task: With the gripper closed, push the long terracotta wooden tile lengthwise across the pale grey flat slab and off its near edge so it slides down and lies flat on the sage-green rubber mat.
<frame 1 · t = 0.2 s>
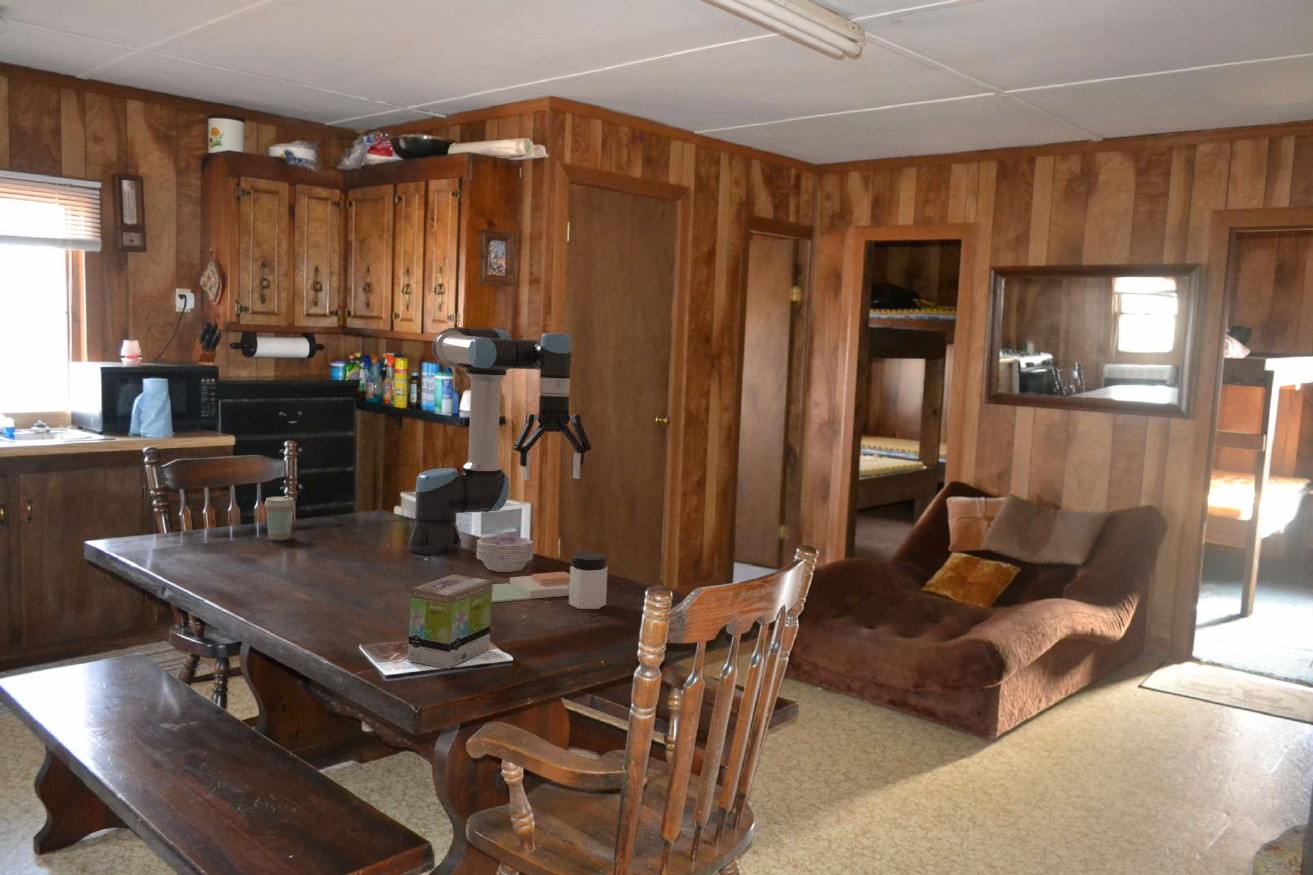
hand: (551, 478, 261), 28 cm above the table, fingers open, 13 cm apart
jar: (587, 605, 248), on the table
tea box: (449, 656, 205), on the table
paper bowls: (504, 569, 281), on the table
pale grey flat slab: (549, 589, 261), on the table
mat: (489, 594, 254), on the table
tile: (553, 581, 261), point 2 cm above the table, touching pale grey flat slab
coffee cup: (279, 539, 305), on the table
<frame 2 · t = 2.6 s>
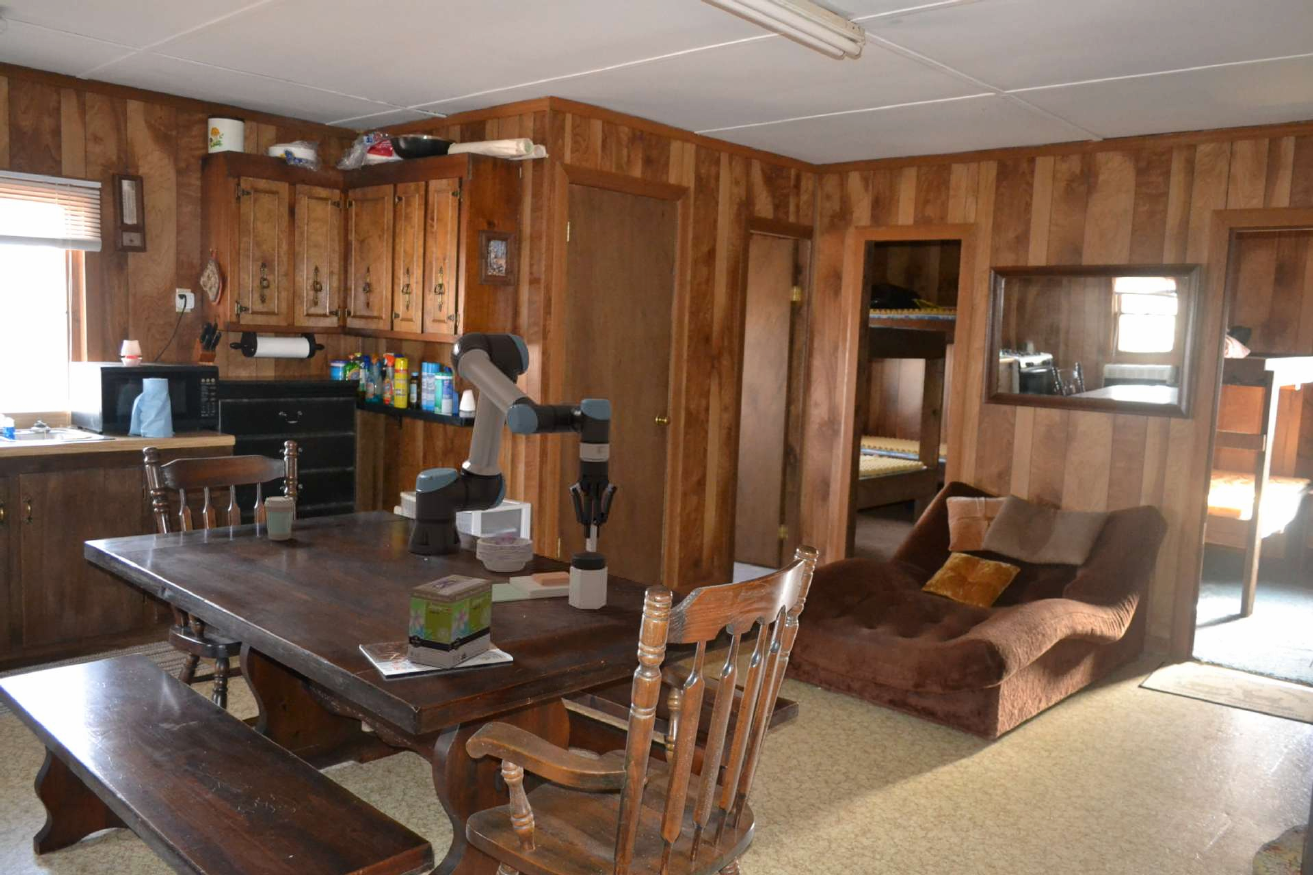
hand: (591, 550, 265), 9 cm above the table, fingers closed
nothing on the table moved.
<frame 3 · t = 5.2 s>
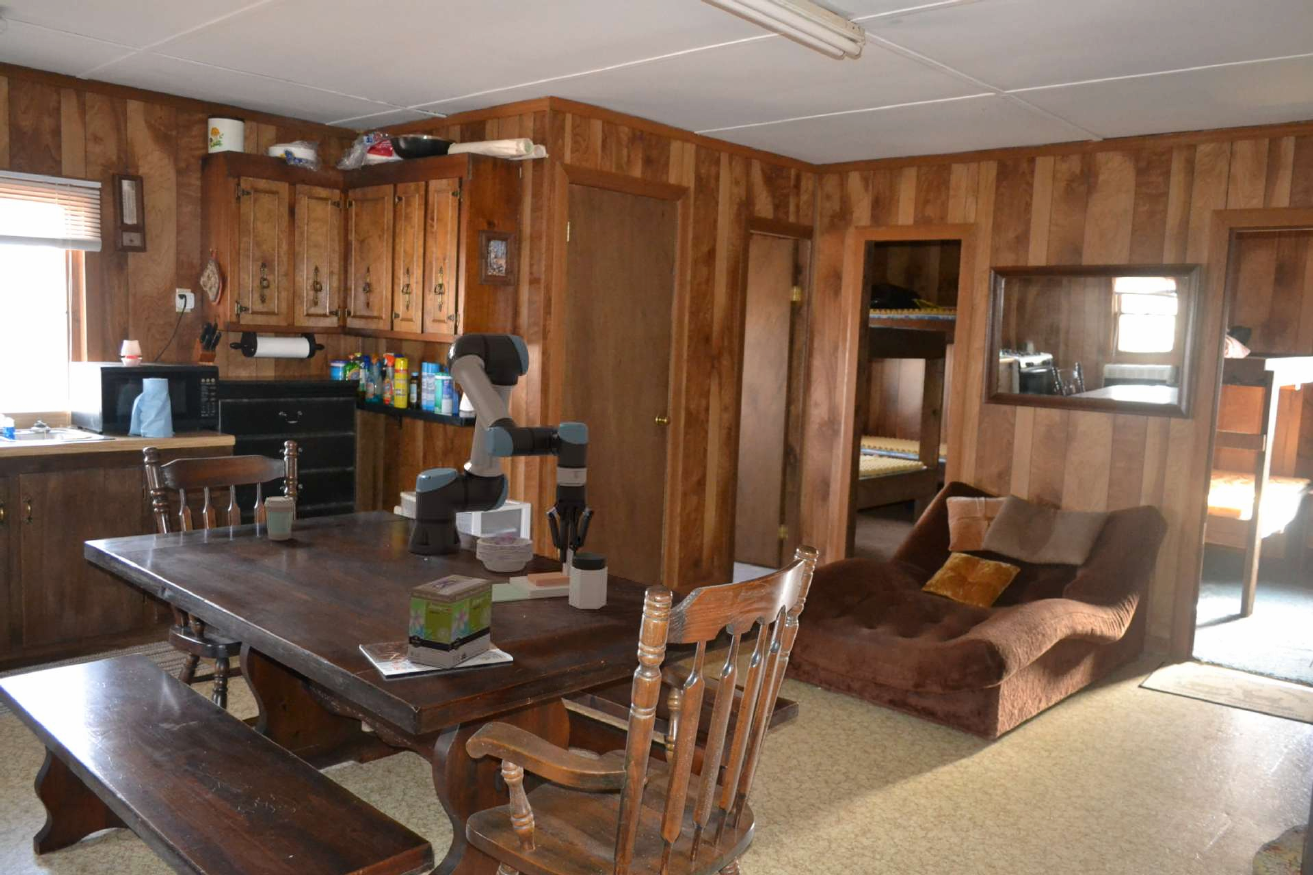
hand: (567, 574, 263), 3 cm above the table, fingers closed
tile: (548, 581, 261), point 2 cm above the table, touching gripper
everything else where it was.
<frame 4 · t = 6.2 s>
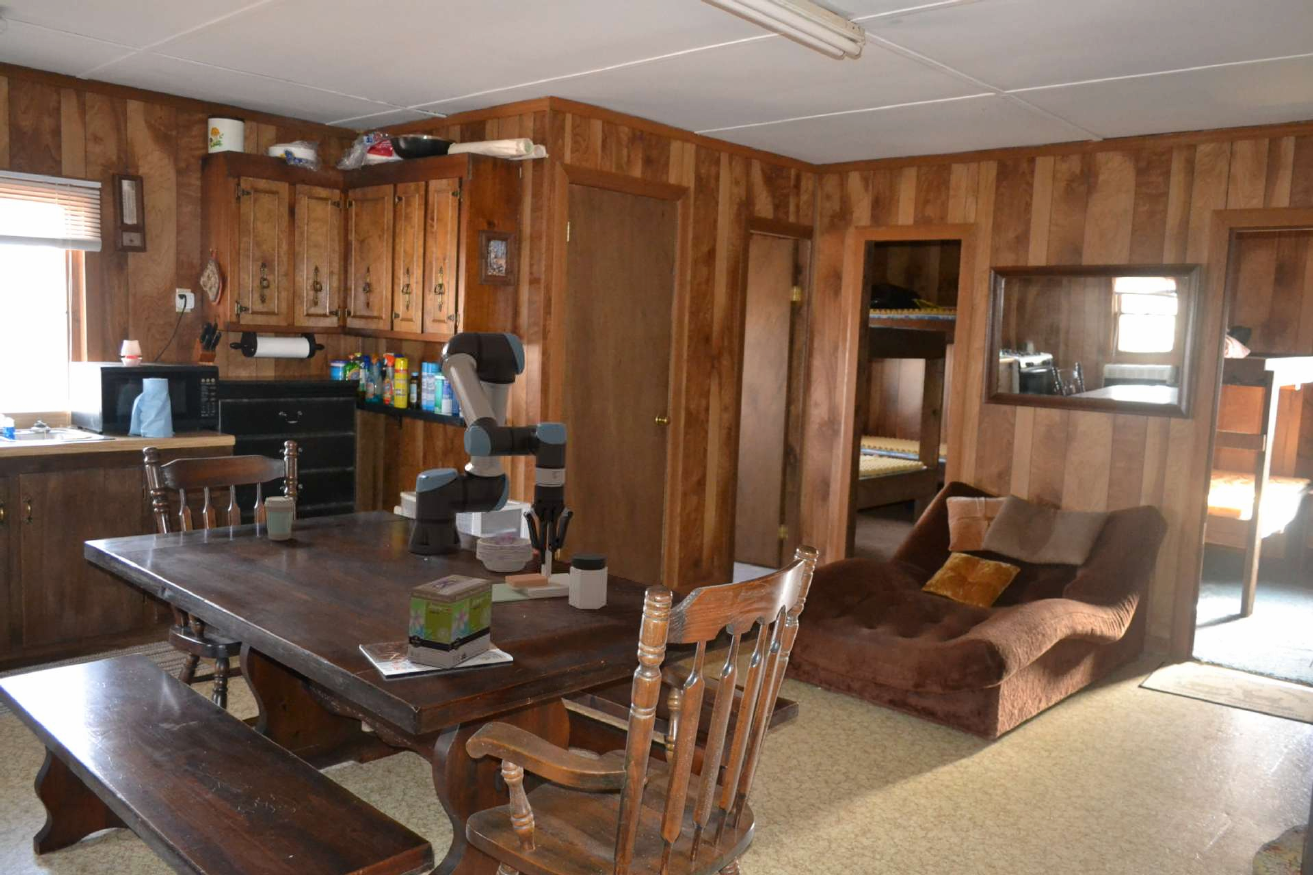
hand: (546, 576, 260), 3 cm above the table, fingers closed
tile: (526, 583, 258), point 2 cm above the table, touching gripper
everything else where it was.
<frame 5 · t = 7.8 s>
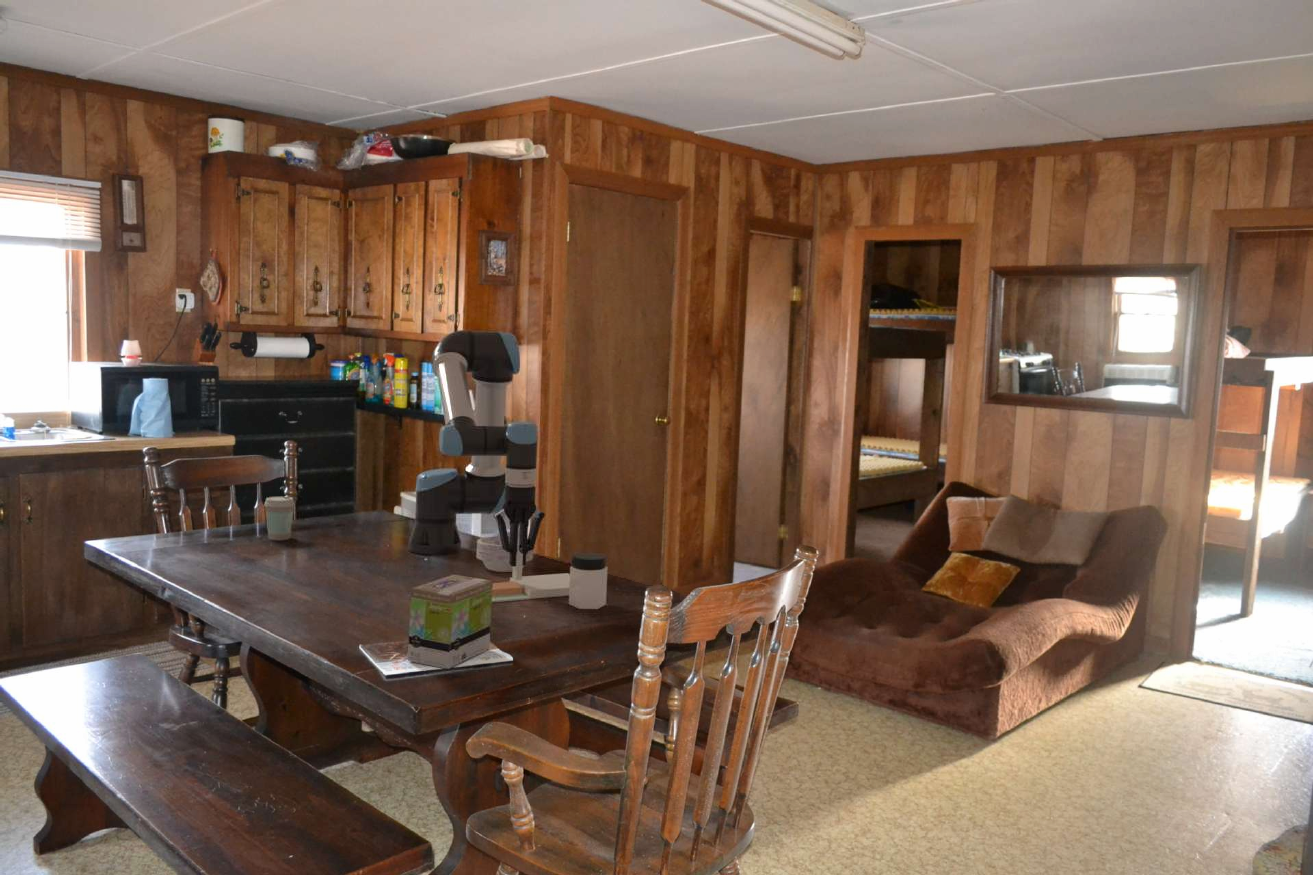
hand: (517, 578, 257), 3 cm above the table, fingers closed
tile: (501, 591, 255), resting on mat
everything else where it was.
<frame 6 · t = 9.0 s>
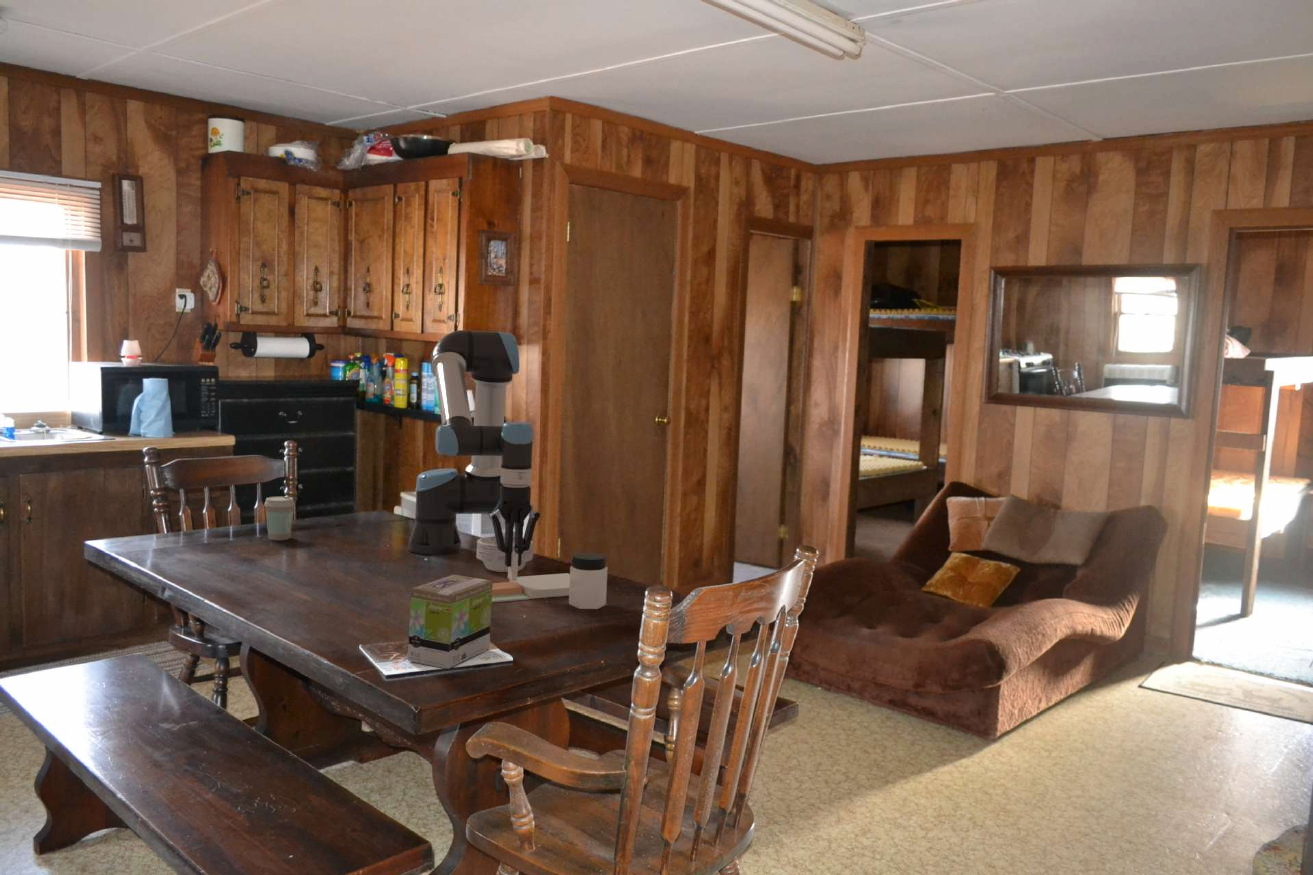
hand: (512, 578, 256), 3 cm above the table, fingers closed
nothing on the table moved.
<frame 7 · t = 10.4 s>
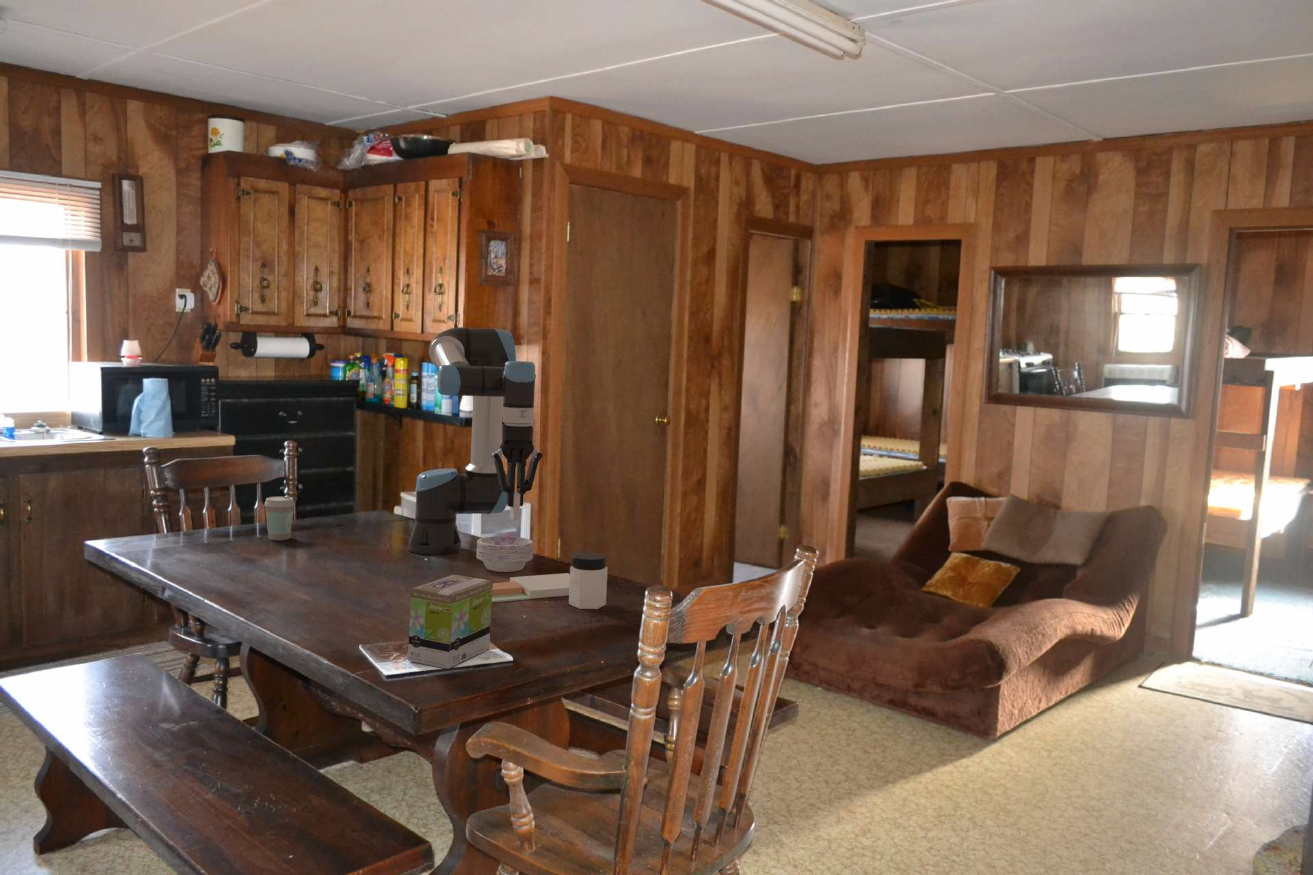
hand: (514, 519, 255), 18 cm above the table, fingers closed
nothing on the table moved.
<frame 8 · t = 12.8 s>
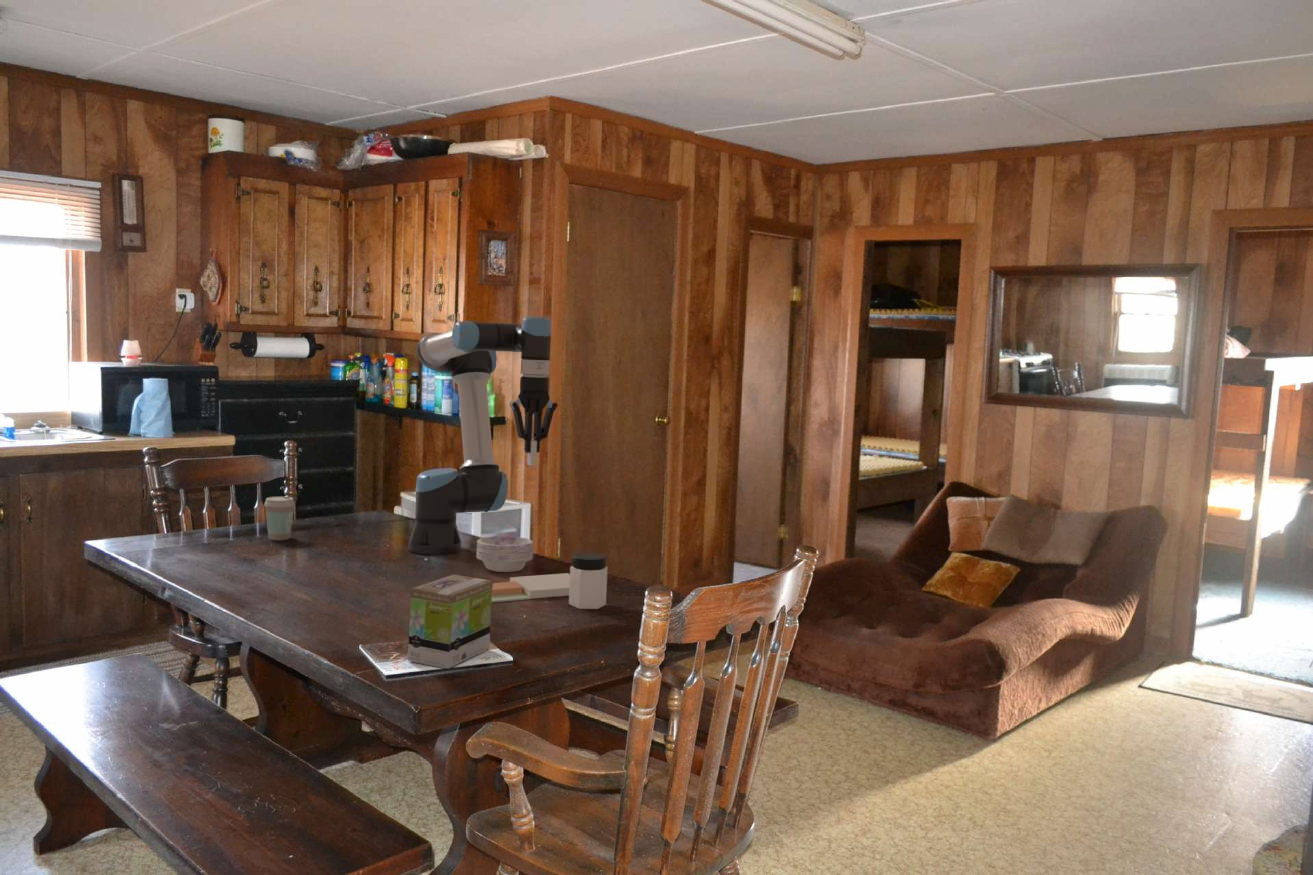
hand: (531, 464, 274), 29 cm above the table, fingers closed
nothing on the table moved.
at the end: tile resting on mat; tile inside the target area (3.5 cm from its centre), resting on mat; tile tilted 0° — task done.
